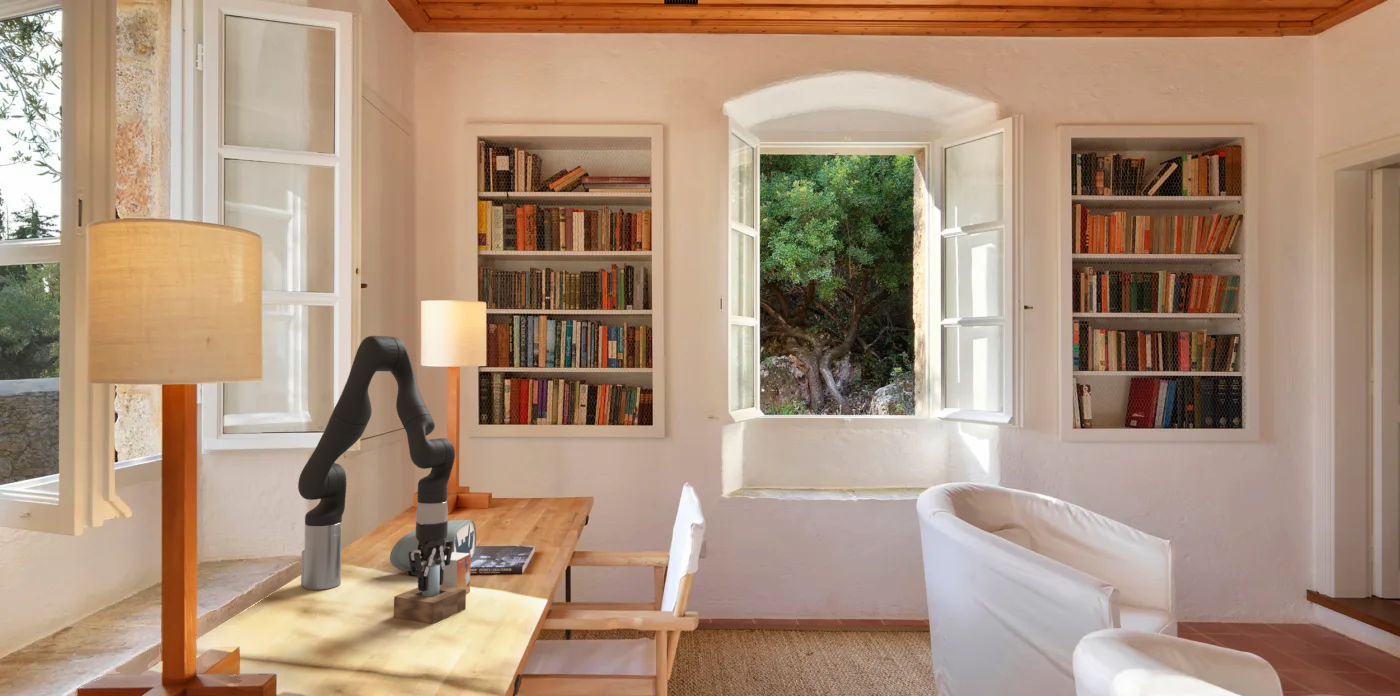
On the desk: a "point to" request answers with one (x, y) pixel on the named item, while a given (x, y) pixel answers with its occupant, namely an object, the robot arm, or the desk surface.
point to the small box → (458, 571)
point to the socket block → (429, 604)
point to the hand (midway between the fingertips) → (430, 587)
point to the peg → (433, 581)
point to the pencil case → (458, 533)
